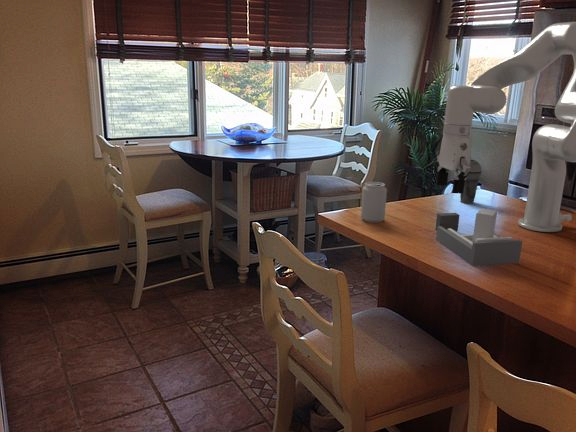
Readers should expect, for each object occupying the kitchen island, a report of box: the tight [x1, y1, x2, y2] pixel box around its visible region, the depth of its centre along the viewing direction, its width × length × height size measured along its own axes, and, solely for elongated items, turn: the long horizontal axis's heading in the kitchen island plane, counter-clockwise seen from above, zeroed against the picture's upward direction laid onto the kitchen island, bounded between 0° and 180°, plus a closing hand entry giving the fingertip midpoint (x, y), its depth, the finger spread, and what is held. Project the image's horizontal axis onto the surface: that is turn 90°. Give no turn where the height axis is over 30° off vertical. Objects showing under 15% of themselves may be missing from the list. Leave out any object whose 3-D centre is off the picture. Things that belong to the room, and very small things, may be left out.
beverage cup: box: [459, 152, 482, 205], centre depth 190 cm, size 7×7×20 cm
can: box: [360, 181, 388, 224], centre depth 168 cm, size 8×8×12 cm
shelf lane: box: [435, 226, 523, 267], centre depth 143 cm, size 13×20×6 cm, turn 11°
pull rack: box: [435, 212, 514, 246], centre depth 147 cm, size 10×26×6 cm, turn 11°
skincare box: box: [471, 207, 498, 242], centre depth 139 cm, size 6×4×12 cm
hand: (449, 188), depth 155 cm, fingers open, 9 cm apart
